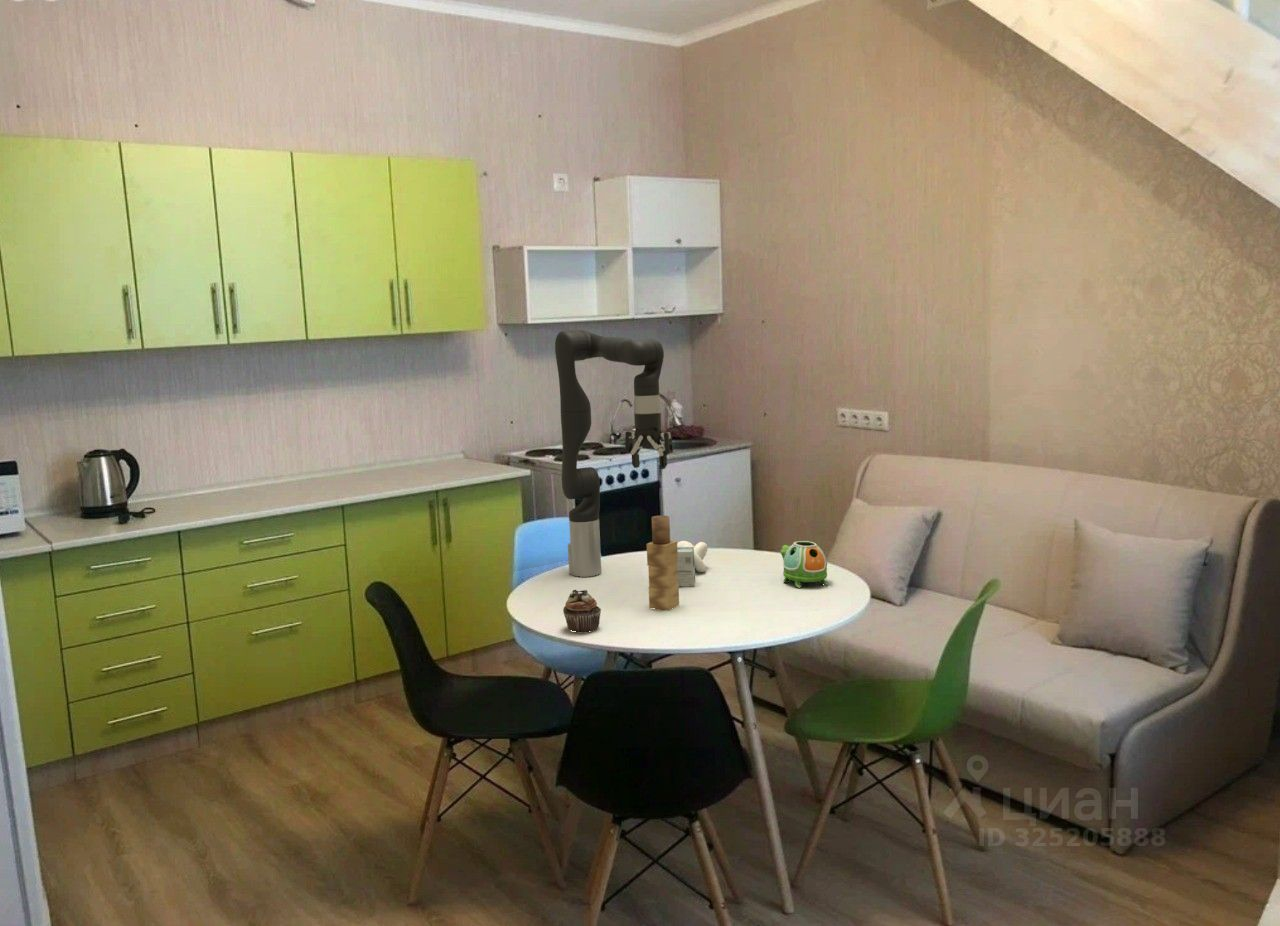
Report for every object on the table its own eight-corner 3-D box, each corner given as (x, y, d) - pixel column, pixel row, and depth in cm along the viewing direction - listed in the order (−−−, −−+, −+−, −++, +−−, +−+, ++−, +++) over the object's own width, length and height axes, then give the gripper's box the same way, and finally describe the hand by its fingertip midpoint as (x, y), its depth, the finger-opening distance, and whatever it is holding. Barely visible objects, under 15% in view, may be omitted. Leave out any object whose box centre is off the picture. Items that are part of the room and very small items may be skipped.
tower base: (649, 608, 280) (648, 587, 279) (660, 602, 285) (659, 581, 284) (668, 611, 277) (667, 589, 276) (679, 605, 282) (678, 584, 281)
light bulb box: (695, 581, 306) (694, 545, 305) (694, 587, 300) (693, 551, 298) (659, 581, 308) (658, 546, 306) (658, 587, 301) (656, 551, 299)
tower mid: (649, 587, 278) (648, 566, 278) (657, 582, 284) (656, 560, 283) (669, 589, 276) (669, 567, 275) (677, 583, 282) (676, 562, 281)
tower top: (647, 565, 278) (646, 543, 278) (659, 560, 283) (658, 539, 282) (666, 567, 275) (665, 546, 274) (677, 562, 280) (677, 541, 279)
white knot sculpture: (667, 575, 314) (666, 547, 313) (674, 566, 325) (673, 538, 324) (703, 576, 311) (702, 547, 310) (709, 566, 323) (708, 538, 322)
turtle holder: (802, 571, 312) (801, 533, 310) (836, 585, 295) (835, 545, 294) (767, 577, 307) (766, 538, 305) (799, 591, 291) (798, 550, 289)
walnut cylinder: (649, 543, 278) (648, 518, 276) (658, 540, 282) (657, 515, 281) (664, 545, 275) (663, 519, 274) (673, 541, 279) (672, 516, 278)
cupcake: (602, 633, 260) (600, 594, 259) (564, 635, 259) (562, 597, 258) (601, 621, 270) (599, 584, 268) (564, 624, 269) (562, 587, 267)
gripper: (618, 412, 289) (621, 469, 291) (663, 413, 282) (665, 471, 284) (632, 409, 295) (634, 465, 298) (676, 410, 288) (678, 467, 291)
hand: (649, 468), depth 291 cm, fingers open, 8 cm apart
